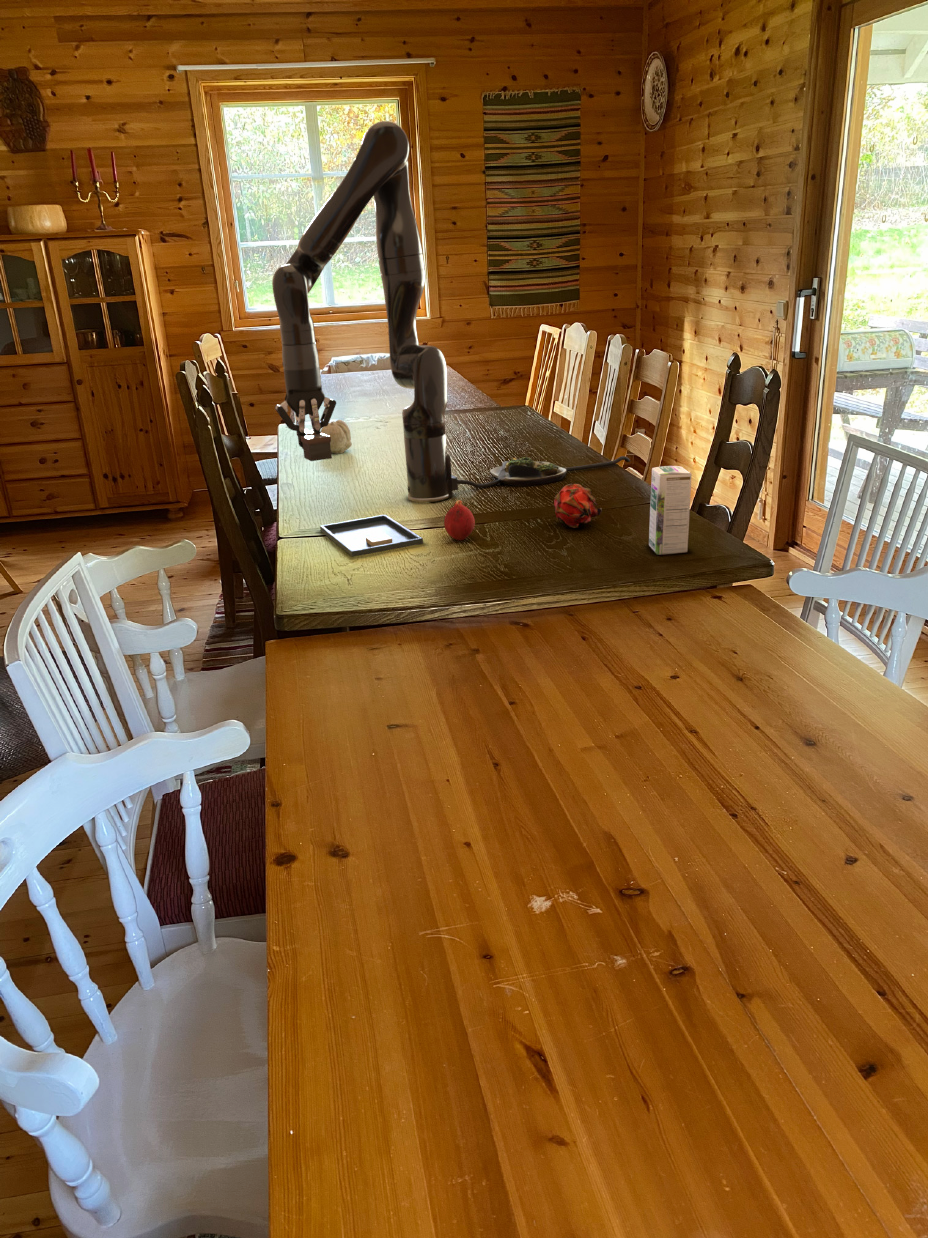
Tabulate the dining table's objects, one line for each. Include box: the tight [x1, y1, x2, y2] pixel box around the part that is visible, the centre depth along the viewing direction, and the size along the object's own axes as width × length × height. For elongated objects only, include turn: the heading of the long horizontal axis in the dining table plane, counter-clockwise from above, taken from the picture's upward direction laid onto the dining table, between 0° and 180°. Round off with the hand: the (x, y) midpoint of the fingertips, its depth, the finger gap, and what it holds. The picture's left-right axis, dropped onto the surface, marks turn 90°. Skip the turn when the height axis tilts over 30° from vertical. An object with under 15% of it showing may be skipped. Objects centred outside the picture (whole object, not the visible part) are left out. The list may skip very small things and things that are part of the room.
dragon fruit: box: [553, 483, 603, 529], centre depth 180 cm, size 8×8×12 cm
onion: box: [443, 499, 476, 542], centre depth 173 cm, size 6×6×8 cm
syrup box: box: [648, 465, 693, 556], centre depth 161 cm, size 6×6×14 cm
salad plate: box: [490, 456, 567, 487], centre depth 220 cm, size 19×18×5 cm
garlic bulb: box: [320, 419, 353, 455], centre depth 258 cm, size 9×8×10 cm
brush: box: [295, 428, 333, 462], centre depth 198 cm, size 14×5×5 cm, turn 26°
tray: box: [319, 514, 424, 558], centre depth 179 cm, size 14×20×1 cm
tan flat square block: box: [366, 534, 392, 547], centre depth 175 cm, size 4×4×1 cm
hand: (310, 447), depth 198 cm, fingers closed on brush
